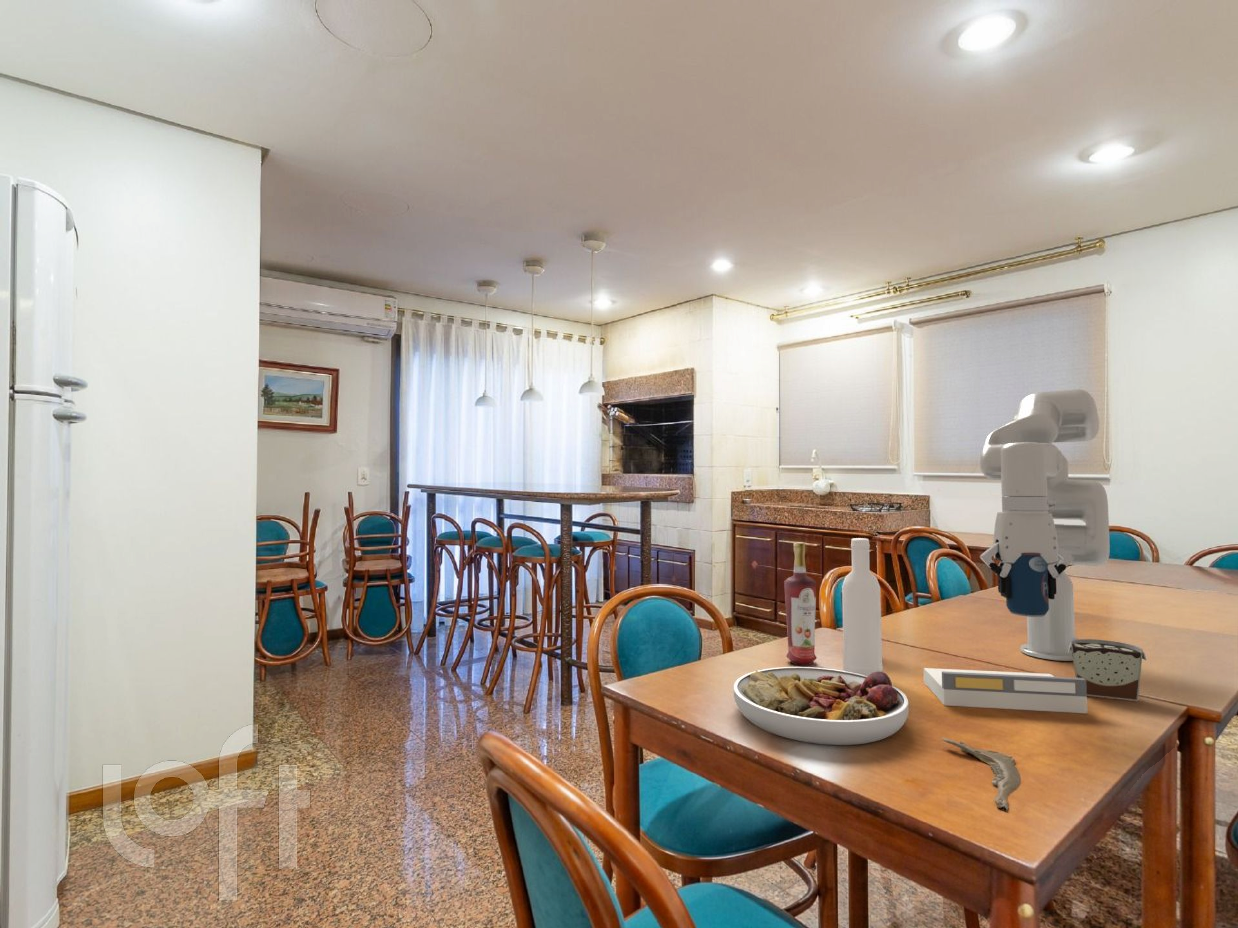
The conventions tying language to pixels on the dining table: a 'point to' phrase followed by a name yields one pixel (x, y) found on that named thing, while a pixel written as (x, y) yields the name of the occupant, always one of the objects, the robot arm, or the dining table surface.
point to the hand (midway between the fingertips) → (1027, 596)
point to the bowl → (822, 704)
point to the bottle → (861, 614)
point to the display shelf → (1007, 690)
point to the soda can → (1029, 586)
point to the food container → (1108, 667)
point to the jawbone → (996, 770)
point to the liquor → (800, 611)
